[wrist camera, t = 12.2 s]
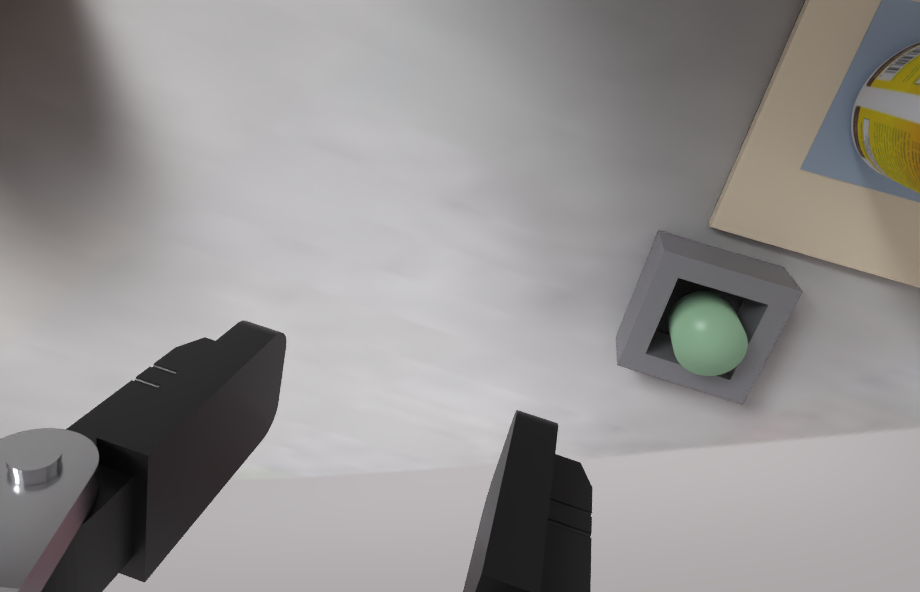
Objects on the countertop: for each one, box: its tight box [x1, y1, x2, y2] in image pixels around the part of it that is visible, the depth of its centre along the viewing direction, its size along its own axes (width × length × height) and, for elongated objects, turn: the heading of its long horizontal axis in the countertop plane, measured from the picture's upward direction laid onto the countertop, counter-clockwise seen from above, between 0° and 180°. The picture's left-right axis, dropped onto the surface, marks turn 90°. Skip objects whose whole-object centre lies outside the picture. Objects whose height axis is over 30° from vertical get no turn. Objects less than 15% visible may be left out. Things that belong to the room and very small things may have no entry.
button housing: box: [616, 231, 802, 404], centre depth 30 cm, size 6×6×3 cm
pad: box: [708, 0, 920, 288], centre depth 26 cm, size 13×12×1 cm
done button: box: [668, 291, 748, 376], centre depth 28 cm, size 3×3×2 cm
